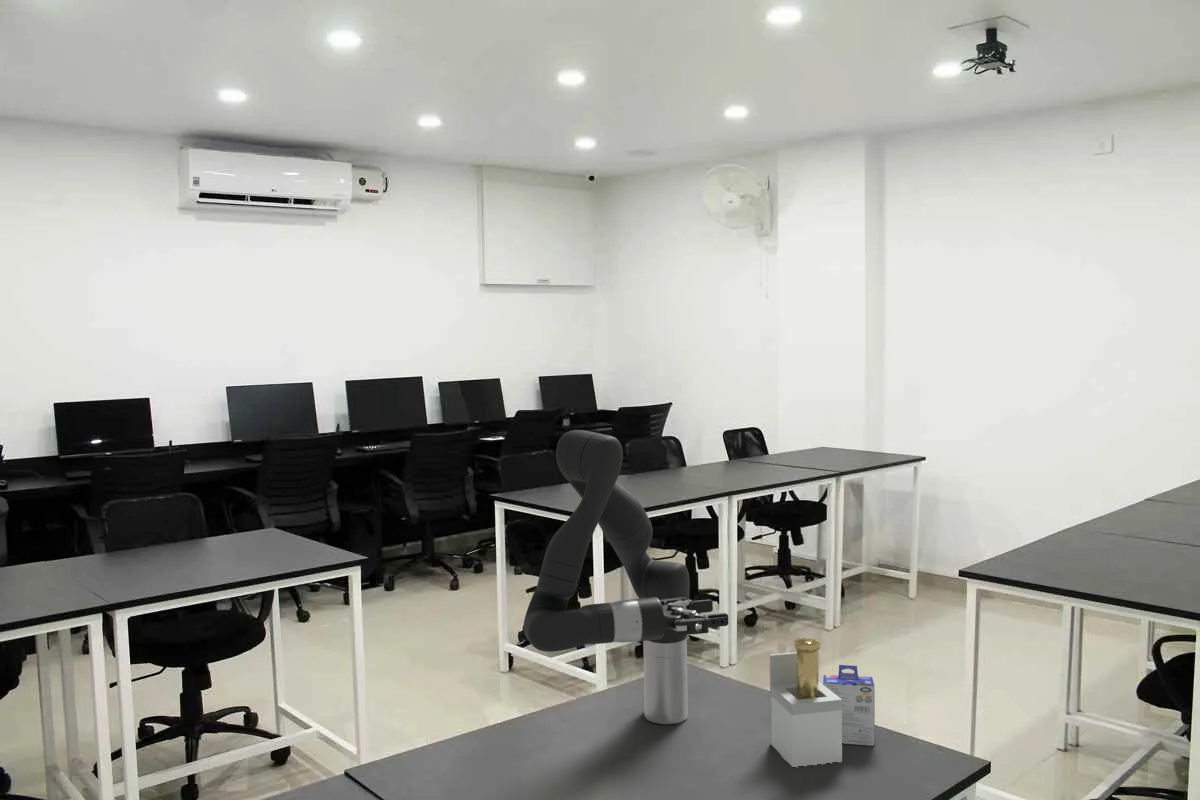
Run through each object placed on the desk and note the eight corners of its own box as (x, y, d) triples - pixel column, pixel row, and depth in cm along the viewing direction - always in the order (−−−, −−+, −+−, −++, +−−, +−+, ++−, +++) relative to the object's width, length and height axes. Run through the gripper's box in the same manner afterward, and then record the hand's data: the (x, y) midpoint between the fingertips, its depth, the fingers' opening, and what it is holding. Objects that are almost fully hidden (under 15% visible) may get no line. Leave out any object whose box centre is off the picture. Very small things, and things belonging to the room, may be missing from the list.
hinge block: (770, 744, 183) (769, 654, 182) (817, 739, 185) (817, 650, 184) (792, 767, 173) (792, 672, 172) (842, 762, 175) (842, 668, 174)
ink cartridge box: (873, 735, 187) (873, 664, 186) (875, 747, 181) (875, 674, 180) (822, 732, 189) (822, 662, 188) (823, 743, 183) (823, 671, 182)
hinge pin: (790, 699, 180) (790, 638, 179) (814, 696, 181) (813, 636, 180) (800, 709, 175) (800, 647, 174) (824, 706, 176) (824, 644, 175)
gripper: (644, 611, 161) (733, 603, 164) (624, 589, 175) (706, 582, 178) (645, 653, 161) (733, 644, 165) (625, 628, 175) (707, 620, 179)
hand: (719, 612), depth 171 cm, fingers open, 8 cm apart
